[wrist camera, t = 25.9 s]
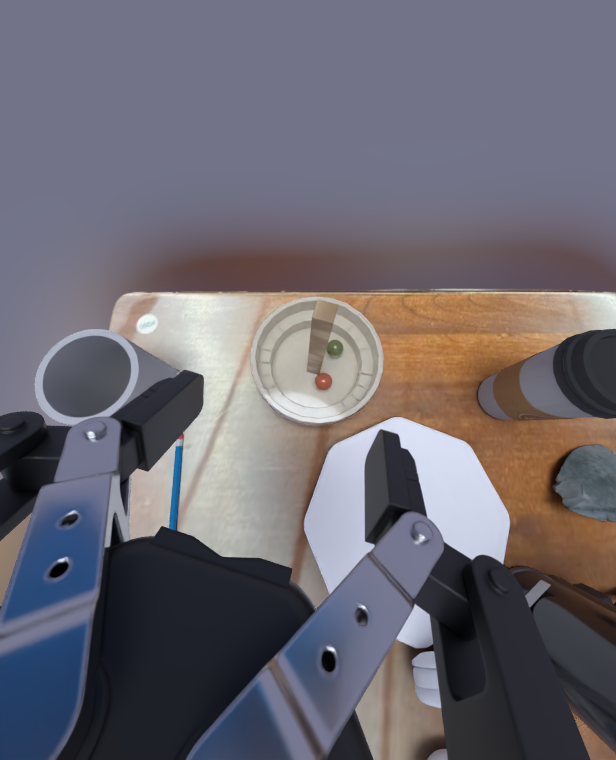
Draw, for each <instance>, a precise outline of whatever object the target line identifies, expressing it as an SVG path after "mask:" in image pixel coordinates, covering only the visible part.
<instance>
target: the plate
mask: <svg viewBox="0 0 616 760" xmlns="http://www.w3.org/2000/svg"><path fill="white" fill-rule="evenodd" d="M380 429H383V430H386V431H389V432H393V433H396V434H398V435H399V438H400V443H401V448H404V449H408V451H409V452H410V454H411V455H412V457H413V458H414V460H415V463H416V468H417V473H418V477H419V482H420V486H421V490H422V495H423V499H424V504H425V508H426V513H427V517H428V518H429V519H430V520H431V521H432V522H433V523H434V524H435V525H436V526H437V528H438V529H439V531H440V533H441V534H442V537H443V540H444V542H445V543H447V544H448V545H449V546H451V547H452V548H454V549H456V550H457V551H459V552H460V553H462V554H464V555H465V556H467V557H468V558H470V559H472V560H473V559H474V558H475V557H476V556H478V555H487V556H490V557H493V558H495V559H496V560H498V561H499V562H501V563H502V564H503V562H504V556H505V551H506V545H507V539H508V533H509V528H510V519H509V514H508V512H507V510H506V508H505V506H504V504H503V503H502V501H501V499H500V497H499V496H498V494H497V492H496V490H495V489H494V487H493V485H492V483H491V482H490V480H489V478H488V476H487V474H486V473H485V471H484V469H483V467H482V466H481V464H480V462H479V460H478V459H477V457H476V455H475V453H474V451H473V450H472V448H471V447H470V446H469V445H468V444H467V443H466V442H465V441H463V440H460V439H457V438H455V437H452V436H450V435H447V434H444V433H442V432H439V431H436V430H434V429H431V428H429V427H426V426H423V425H421V424H418V423H416V422H413V421H410V420H408V419H405V418H403V417H392V418H390V419H388V420H386V421H384V422H382V423H379V424H377V425H375V426H373V427H371V428H369V429H366V430H364V431H362V432H360V433H358V434H356V435H353V436H351V437H349V438H347V439H345V440H342V441H340V442H338V443H336V444H334V445H333V446H332V447H331V449H330V450H329V451H328V454H327V456H326V459H325V462H324V465H323V468H322V471H321V473H320V476H319V479H318V482H317V485H316V487H315V490H314V493H313V496H312V499H311V502H310V504H309V507H308V510H307V513H306V516H305V518H304V531H305V534H306V536H307V539H308V541H309V544H310V546H311V549H312V551H313V554H314V556H315V559H316V561H317V564H318V566H319V569H320V572H321V574H322V577H323V579H324V582H325V584H326V587H327V589H328V592H329V594H331V593H332V592H333V590H334V589H335V588H336V587H337V586H338V585H339V584H340V583H341V581H342V580H343V579H344V578H345V577H346V576H347V575H348V574H349V573H350V571H351V570H352V569H353V568H354V567H355V566H356V565H357V564H358V562H359V561H360V560H361V559H362V558H363V557H364V556H365V555H366V554H367V553H368V552H370V551H371V550H372V549H373V548H374V544H371V543H368V542H365V484H364V466H365V460H366V456H367V454H368V452H369V450H370V448H371V445H372V443H373V441H374V439H375V437H376V435H377V433H378V431H379V430H380ZM396 640H398V641H401V642H403V643H405V644H407V645H410V646H412V647H414V648H427V647H429V646H430V645H432V644H433V638H432V630H431V622H430V615H429V614H428V613H427V612H425V611H424V610H422V609H421V608H420V607H418V606H417V605H416V604H415V605H414V608H413V610H412V612H411V614H410V616H409V617H408V619H407V621H406V623H405V624H404V626H403V628H402V629H401V631H400V633H399V634H398V636H397V638H396Z"/></svg>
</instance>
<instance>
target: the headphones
mask: <svg viewBox="0 0 616 760" xmlns="http://www.w3.org/2000/svg"><path fill="white" fill-rule="evenodd" d="M412 665H413V666H415V667H414V669H413V676H414V681H415V692H416V695H417V697H418V698H419V700H420V701H421V702H423V703H425V704H427V705H430V706H433V707H437V708H441V701H440V693H439V686H438V678H437V670H436V662H435V654H434V651H430V652H423V653H420V654H418V655H417V656H416V657H415V658H414V659H413V660H412ZM427 760H448V757H447V749H439V750H437V751H435V752H433V753H432V754H431V755H430V756H429V757H428V759H427Z"/></svg>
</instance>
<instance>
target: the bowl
mask: <svg viewBox="0 0 616 760" xmlns="http://www.w3.org/2000/svg"><path fill="white" fill-rule="evenodd" d="M318 299H320V300H324V301H327V302H331V303H334V304H338V309H337V312H336V316H335V319H334V323H333V327H332V330H331V334H330V338H329V341H331V340H339V341H340V342H341V343H342V344H343V348H344V349H343V352H342V354H341V355H340V356H338V357H332V356H330V355H329V354H328V353H327V351H326V352H325V356H324V359H323V363H322V366H321V370H320V373H327V374H329V375H330V376H331V378H332V385H331V387H330V388H329V389H328V390H324V391H322V390H319V389H318V388H317V387H316V386H315V383H314V380H315V377H316V376H317V374H314V373H310V372H307V363H308V352H309V342H310V331H311V321H312V315H313V312H314V309H315V305H316V302H317V300H318ZM329 341H328V342H329ZM250 359H251V369H252V375H253V377H254V380H255V382H256V385H257V387H258V389H259V391H260V392H261V394H262V395H263V396H264V398H265V399H266V400H267V402H268V403H269V404H270V406H271V407H272V408H273V409H274V410H275V411H276V412H278V413H279V414H280V415H282V416H283V417H284V418H286V419H288V420H290V421H293V422H295V423H298V424H301V425H308V426H323V425H330V424H334V423H336V422H339V421H341V420H343V419H345V418H347V417H349V416H351V415H352V414H354V413H355V412H357V411H358V410H359V409H360V408H361V407H363V406H364V405H365V404H366V403H367V402H368V401H369V400H370V398H371V397H372V395H373V394H374V392H375V391H376V389H377V388H378V385H379V382H380V379H381V376H382V373H383V351H382V347H381V343H380V340H379V337H378V335H377V333H376V332H375V330H374V328H373V326H372V324H371V323H370V322H369V321H368V320H367V319H366V318H365V317H364V316H363V315H362V314H361V313H360V312H359V311H357V310H356V309H354V308H353V307H351V306H350V305H348V304H346V303H344V302H341V301H338V300H335V299H333V298H325V297H306V298H299V299H296V300H294V301H291V302H288V303H286V304H284V305H282V306H281V307H279V308H278V309H276V310H275V311H273V312H272V313H271V314H270V315H269V316H268V317H267V318H266V319H265V321H264V322H263V323H262V324H261V325H260V327H259V329H258V331H257V333H256V335H255V337H254V339H253V344H252V349H251V355H250ZM320 373H319V374H320Z"/></svg>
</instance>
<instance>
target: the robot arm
mask: <svg viewBox="0 0 616 760" xmlns="http://www.w3.org/2000/svg"><path fill="white" fill-rule="evenodd" d="M203 388H204V378H203V376H202V375H201V374H197V373H194V372H190V371H187V370H184V371H182V372H181V373H179V374H178V375H177V376H176V377H174V378H170V377H169V378H166V379H164V380H161V381H158V382H156V383H155V384H154V385H152V386H151V387H149V388H148V390H145V391H144V392H143V393H141V394H140V396H137V397H136V398H134V399H133V400H132V401H130V402H129V403H128V404H126V405H125V406H124V407H122V408H121V409H119V410H118V411H117V412H115V413H114V414H113V415H111V416H110V417H93V418H89V419H86V420H83V421H81V422H79V423H77V424H76V425H74V426H73V427H69V426H47V425H46V424H45V421H44V418H43V417H42V416H41V415H40V414H38V413H35V412H27V411H26V412H15V413H10V414H6V415H3V416H0V472H1V474H2V475H3V477H4V478H3V479H1V480H0V541H1V540H2V539H3V538H4V537H5V536H6V535H7V534H8V533H10V532H11V531H12V530H13V529H14V528H15V527H16V526H17V525H18V524H19V523H21V522H22V521H23V520H24V519H25V518H26V517H27V516H28V515H29V514H30V513H31V512H32V515H31V518H30V521H29V524H28V527H27V530H26V533H25V536H24V539H23V542H22V545H21V548H20V551H19V554H18V557H17V560H16V563H15V567H14V570H13V573H12V576H11V579H10V582H9V585H8V588H7V591H6V594H5V597H4V600H3V603H2V606H0V760H373V757H372V754H371V752H370V749H369V746H368V744H367V741H366V738H365V736H364V733H363V730H362V728H361V725H360V722H359V720H358V717H357V714H356V712H355V708H356V706H357V704H358V703H359V701H360V699H361V698H362V696H363V694H364V692H365V691H366V689H367V687H368V686H369V684H370V682H371V681H372V679H373V677H374V675H375V674H376V672H377V670H378V669H379V667H380V665H381V663H382V662H383V660H384V658H385V657H386V655H387V653H388V652H389V650H390V648H391V646H392V645H393V643H394V641H395V640H396V638H397V636H398V634H399V633H400V631H401V629H402V628H403V626H404V624H405V623H406V621H407V619H408V617H409V616H410V614H411V612H412V610H413V608H414V605H415V604H416V605H417V606H418V607H420V608H421V609H422V610H424V611H425V612H427V613H428V614H429V615H430V622H431V630H432V638H433V646H434V654H435V662H436V670H437V678H438V686H439V693H440V701H441V709H442V717H443V725H444V733H445V741H446V749H447V757H448V760H590V758H589V755H588V753H587V750H586V748H585V745H584V743H583V740H582V737H581V735H580V732H579V730H578V727H577V725H576V722H575V720H574V717H573V715H572V712H573V713H574V714H575V715H577V716H578V717H579V718H580V719H581V720H582V721H583V722H584V723H585V724H586V725H587V726H588V727H589V728H590V729H591V730H592V731H593V732H594V733H595V734H596V735H597V736H598V737H599V738H600V739H601V740H602V741H603V742H604V743H605V744H606V745H607V746H608V747H609V748H610V749H611V750H613V751H614V752H615V753H616V602H615V603H614V604H613V603H612V600H611V598H610V597H609V596H607V595H605V594H603V593H601V592H599V591H597V590H595V589H593V588H591V587H589V586H586V585H584V584H582V583H580V584H575V585H571V584H569V583H567V582H565V581H563V580H561V579H559V578H557V577H556V576H554V575H550V576H546V575H545V574H543V573H541V572H539V571H537V570H535V569H532V568H529V567H513V568H510V569H508V568H507V567H506V566H504V565H503V564H502V563H501V562H499V561H498V560H496V559H495V558H493V557H490V556H487V555H478V556H476V557H475V558H474V559H473V560H472V559H470V558H468V557H467V556H465V555H464V554H462V553H460V552H459V551H457V550H456V549H454V548H452V547H451V546H449V545H448V544H447V543H445V542H444V540H443V537H442V534H441V533H440V531H439V529H438V528H437V526H436V525H435V524H434V523H433V522H432V521H431V520H430V519H429V518H428V517H427V513H426V508H425V504H424V499H423V495H422V490H421V486H420V482H419V477H418V473H417V468H416V463H415V460H414V458H413V457H412V455H411V454H410V452H409V451H408V449H404V448H401V443H400V438H399V435H398V434H396V433H393V432H389V431H386V430H383V429H380V430H379V431H378V433H377V435H376V437H375V439H374V441H373V443H372V445H371V448H370V450H369V452H368V454H367V456H366V460H365V466H364V484H365V542H368V543H371V544H374V548H373V549H372V550H371V551H370V552H368V553H367V554H366V555H365V556H364V557H363V558H362V559H361V560H360V561H359V562H358V564H357V565H356V566H355V567H354V568H353V569H352V570H351V571H350V573H349V574H348V575H347V576H346V577H345V578H344V579H343V580H342V581H341V583H340V584H339V585H338V586H337V587H336V588H335V589H334V590H333V592H332V593H331V594H330V595H329V596H328V597H327V598H326V599H325V601H324V602H323V603H322V604H321V605H320V606H319V607H318V608H317V610H316V608H315V606H314V605H313V603H312V602H311V600H310V599H309V597H308V596H307V595H306V594H305V592H304V591H303V590H302V589H301V588H300V587H299V586H298V585H297V584H296V583H294V582H293V581H291V580H290V577H291V573H292V568H289V567H286V566H282V565H279V564H276V563H273V562H270V561H267V560H264V559H261V558H236V557H222V556H220V555H218V554H217V553H216V552H214V551H213V550H211V549H210V548H209V547H207V546H206V545H204V544H203V543H202V542H200V541H199V540H198V539H196V538H195V537H193V536H190V535H187V534H184V533H181V532H178V531H175V530H172V529H169V528H166V527H163V526H162V527H161V528H160V529H159V531H158V532H157V534H156V535H155V536H149V537H141V538H136V539H132V540H130V529H129V517H130V494H131V474H132V473H133V472H134V471H135V470H136V469H137V468H138V469H141V470H144V471H147V472H148V471H149V470H150V469H151V468H152V467H153V466H154V465H155V463H156V462H157V461H158V460H159V459H160V458H161V457H162V456H163V454H164V453H165V452H166V451H167V450H168V449H169V448H170V447H171V445H172V444H173V443H174V442H175V441H176V440H177V439H178V438H179V437H180V435H181V434H182V433H183V432H184V431H185V430H186V429H187V428H188V426H189V425H190V424H191V423H192V422H193V421H194V420H195V419H196V417H197V416H198V415H199V413H200V412H201V409H202V406H203ZM571 711H572V712H571Z"/></svg>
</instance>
